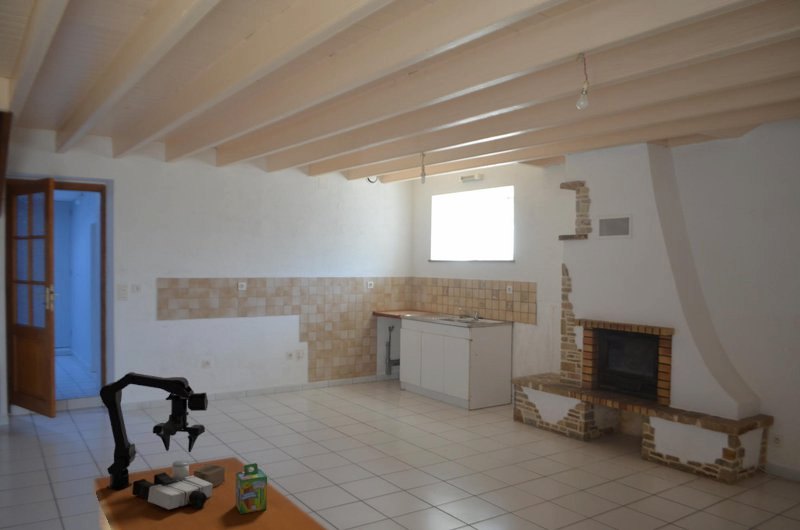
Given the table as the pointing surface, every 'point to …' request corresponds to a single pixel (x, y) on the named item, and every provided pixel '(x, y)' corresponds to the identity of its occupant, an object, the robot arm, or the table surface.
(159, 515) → the table surface
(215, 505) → the table surface
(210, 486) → the toy
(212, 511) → the table surface
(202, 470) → the beige box
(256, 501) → the chalk box
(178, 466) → the beaker
